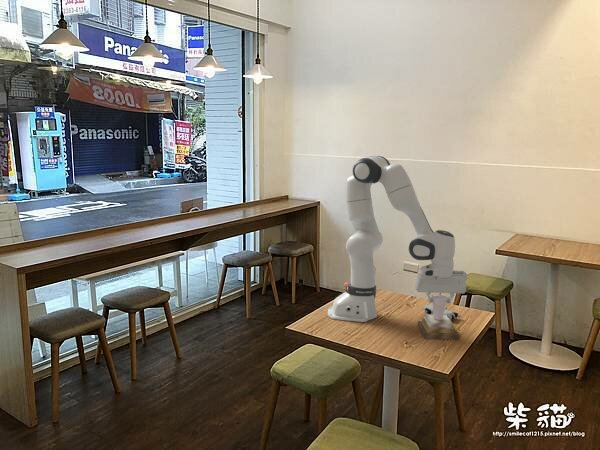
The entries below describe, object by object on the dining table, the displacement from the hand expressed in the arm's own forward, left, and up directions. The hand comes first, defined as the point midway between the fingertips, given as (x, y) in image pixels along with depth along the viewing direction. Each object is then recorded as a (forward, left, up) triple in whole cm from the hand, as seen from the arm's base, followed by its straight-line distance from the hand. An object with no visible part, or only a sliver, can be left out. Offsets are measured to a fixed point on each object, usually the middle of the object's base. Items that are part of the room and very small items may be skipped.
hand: (439, 302), depth 205 cm
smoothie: (0, 0, -7) cm, 7 cm away
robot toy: (+6, +18, -14) cm, 23 cm away
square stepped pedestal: (0, 0, -13) cm, 13 cm away
